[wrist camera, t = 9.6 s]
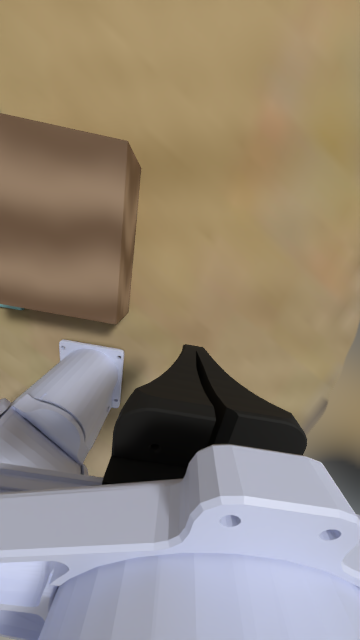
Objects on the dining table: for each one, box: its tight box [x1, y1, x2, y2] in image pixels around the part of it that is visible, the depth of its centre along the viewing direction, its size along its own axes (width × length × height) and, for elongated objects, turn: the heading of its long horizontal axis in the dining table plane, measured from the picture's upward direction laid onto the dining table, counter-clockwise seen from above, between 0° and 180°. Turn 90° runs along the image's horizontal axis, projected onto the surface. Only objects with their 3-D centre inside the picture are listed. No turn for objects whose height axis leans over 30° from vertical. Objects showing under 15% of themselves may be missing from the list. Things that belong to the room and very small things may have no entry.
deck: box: [0, 113, 141, 325], centre depth 16 cm, size 14×12×4 cm
